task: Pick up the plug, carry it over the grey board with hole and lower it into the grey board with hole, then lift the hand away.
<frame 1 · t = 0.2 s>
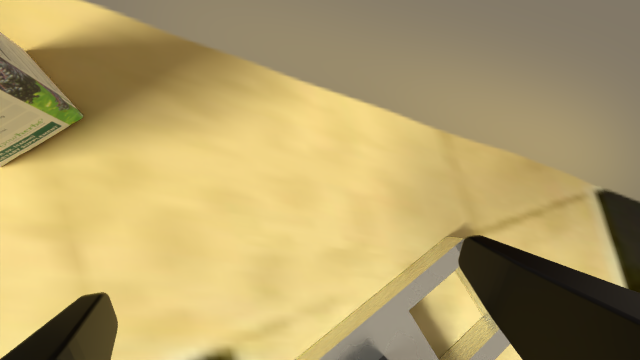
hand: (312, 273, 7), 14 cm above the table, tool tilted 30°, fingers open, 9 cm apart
grey board with hole: (405, 342, 23), on the table
syrup box: (13, 108, 18), on the table
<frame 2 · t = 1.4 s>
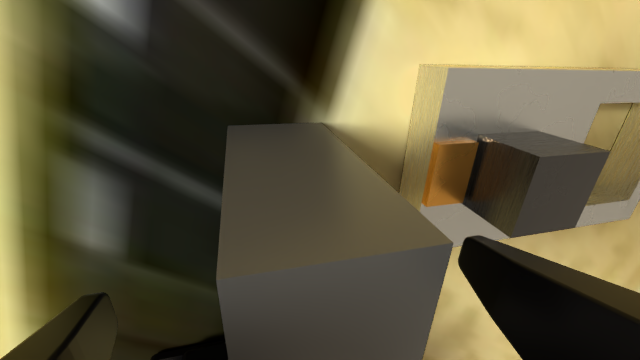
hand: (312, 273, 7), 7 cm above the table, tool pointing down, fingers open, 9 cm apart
grey board with hole: (527, 150, 17), on the table
plug: (277, 167, 13), on the table
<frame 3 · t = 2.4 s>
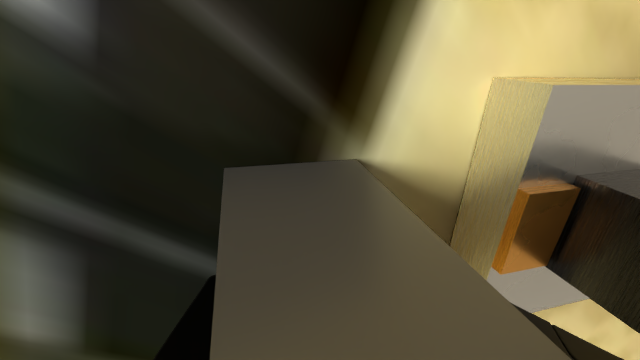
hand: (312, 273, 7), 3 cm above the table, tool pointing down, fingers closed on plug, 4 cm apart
grey board with hole: (610, 183, 13), on the table
plug: (294, 220, 10), on the table, touching gripper
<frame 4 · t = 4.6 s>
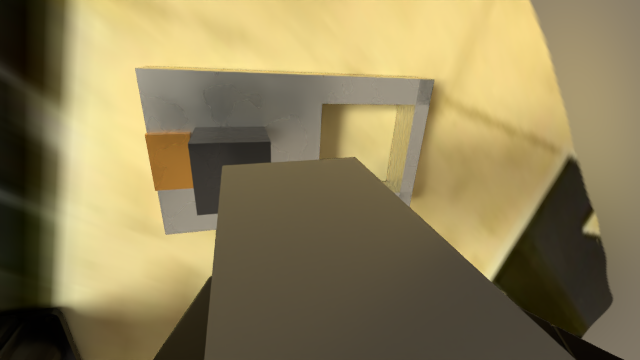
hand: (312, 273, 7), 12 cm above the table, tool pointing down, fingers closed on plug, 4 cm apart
grey board with hole: (296, 145, 19), on the table
plug: (292, 218, 10), point 10 cm above the table, touching gripper
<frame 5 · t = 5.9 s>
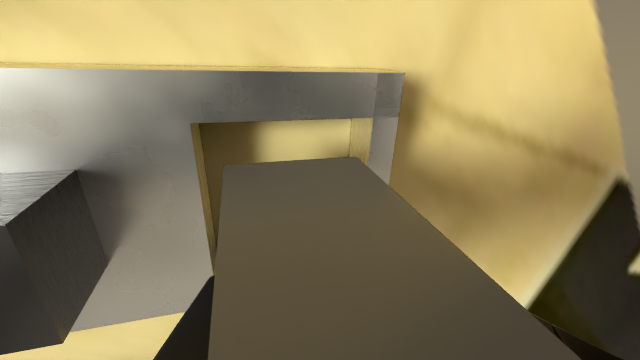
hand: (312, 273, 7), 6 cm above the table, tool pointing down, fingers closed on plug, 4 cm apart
grey board with hole: (180, 187, 12), on the table
plug: (294, 218, 10), point 3 cm above the table, touching gripper
when the fingers open (3 cm above the table, at t = 6.6 s): plug drops 1 cm, resting in grey board with hole.
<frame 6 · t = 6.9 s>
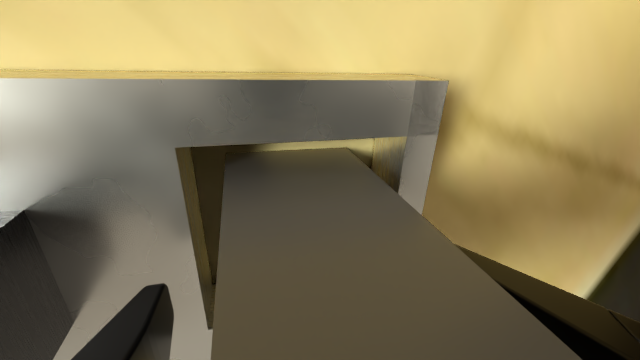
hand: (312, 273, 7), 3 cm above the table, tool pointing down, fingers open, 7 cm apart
grey board with hole: (168, 218, 9), on the table
plug: (289, 203, 10), resting in grey board with hole
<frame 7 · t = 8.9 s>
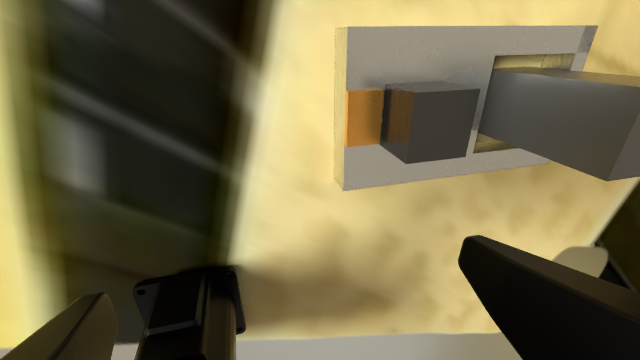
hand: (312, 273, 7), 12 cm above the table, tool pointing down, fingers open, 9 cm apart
grey board with hole: (448, 103, 20), on the table
plug: (497, 98, 20), resting in grey board with hole
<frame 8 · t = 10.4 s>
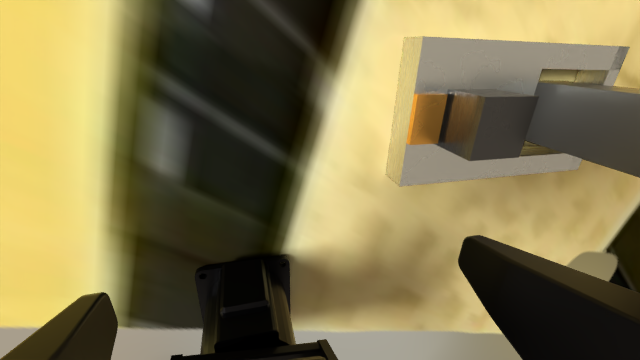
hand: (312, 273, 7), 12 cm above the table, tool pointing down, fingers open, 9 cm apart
grey board with hole: (492, 110, 21), on the table
plug: (534, 108, 22), resting in grey board with hole
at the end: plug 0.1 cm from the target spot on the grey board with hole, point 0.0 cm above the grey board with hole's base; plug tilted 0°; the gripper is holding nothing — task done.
